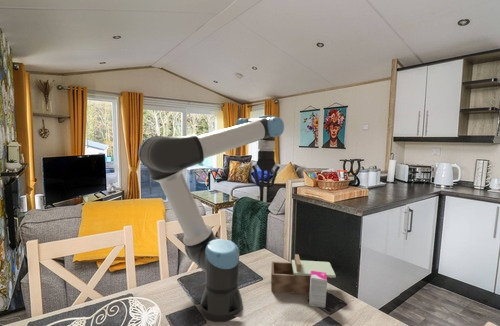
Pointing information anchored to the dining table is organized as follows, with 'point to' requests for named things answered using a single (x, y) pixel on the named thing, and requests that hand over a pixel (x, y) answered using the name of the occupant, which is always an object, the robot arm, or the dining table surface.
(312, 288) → the supplement box
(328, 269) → the lid
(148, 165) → the robot arm
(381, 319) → the dining table surface
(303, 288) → the box
